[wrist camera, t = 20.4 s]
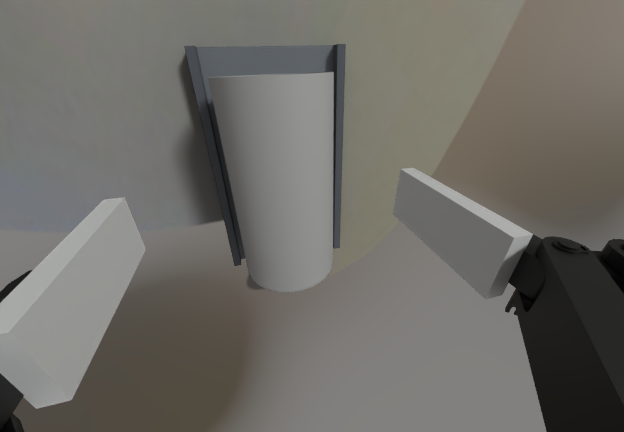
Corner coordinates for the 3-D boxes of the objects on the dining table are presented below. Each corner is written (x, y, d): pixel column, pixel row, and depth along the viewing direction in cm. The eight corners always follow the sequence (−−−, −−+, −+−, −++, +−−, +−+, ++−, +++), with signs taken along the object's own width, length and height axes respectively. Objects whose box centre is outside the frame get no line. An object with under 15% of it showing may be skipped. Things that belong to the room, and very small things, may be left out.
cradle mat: (335, 240, 47) (339, 247, 45) (234, 257, 44) (234, 265, 42) (339, 45, 32) (345, 44, 31) (187, 47, 29) (184, 46, 27)
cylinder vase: (286, 312, 31) (256, 76, 19) (232, 266, 39) (186, 78, 26) (350, 262, 38) (359, 70, 26) (294, 232, 46) (280, 73, 34)
